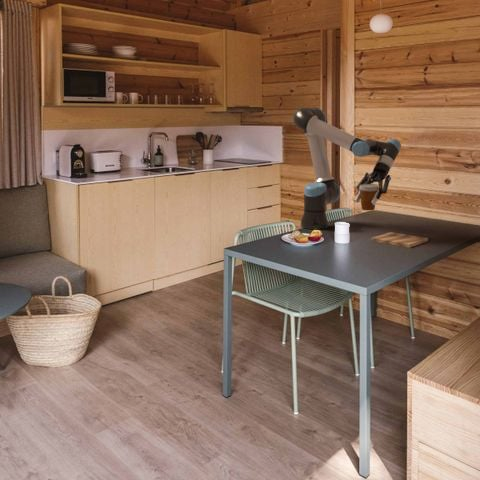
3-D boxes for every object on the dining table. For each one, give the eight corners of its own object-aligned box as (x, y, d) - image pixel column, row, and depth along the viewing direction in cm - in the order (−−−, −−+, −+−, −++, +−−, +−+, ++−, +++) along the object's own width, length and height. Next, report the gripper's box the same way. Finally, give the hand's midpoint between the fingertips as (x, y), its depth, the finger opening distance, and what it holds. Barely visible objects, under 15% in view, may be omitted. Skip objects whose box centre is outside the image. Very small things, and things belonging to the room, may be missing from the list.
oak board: (371, 241, 268) (371, 238, 267) (390, 235, 280) (390, 232, 280) (409, 247, 254) (409, 244, 254) (427, 241, 266) (427, 238, 266)
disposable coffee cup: (365, 212, 272) (366, 187, 268) (354, 208, 280) (355, 184, 277) (381, 209, 275) (382, 186, 272) (370, 206, 283) (371, 183, 280)
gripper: (404, 172, 276) (386, 209, 269) (367, 169, 291) (349, 204, 284) (399, 163, 271) (381, 200, 264) (362, 160, 285) (343, 195, 279)
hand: (364, 202), depth 274 cm, fingers closed on disposable coffee cup, 9 cm apart
